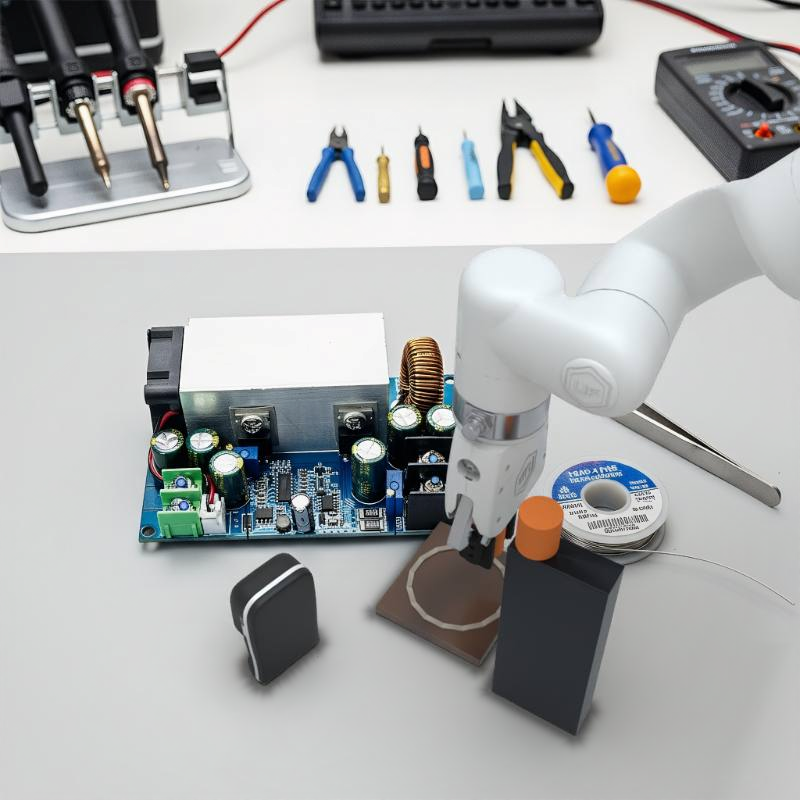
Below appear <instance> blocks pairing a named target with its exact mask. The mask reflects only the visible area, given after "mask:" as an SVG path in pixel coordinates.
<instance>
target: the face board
mask: <svg viewBox="0 0 800 800" xmlns="http://www.w3.org/2000/svg"><path fill="white" fill-rule="evenodd" d="M451 527H452V525H450V524H447V523H446V522H443V521H439V523H438V524H437V525H436V526H435V528H434V529H433V531H432V532H431V533H430V534H429V535H428V536H427V538H426V539H425V541H424V542H423V543H422V545H421V546H420V547H419V548H418V550H417V551H416V553H415V554H414V555H413V557H412V558H411V559H410V560H409V562H408V563H407V564H406V565H405V567H404V569H402V571H401V572H400V574H399V575H398V576H397V578H396V579H395V580H394V581H393V583H392V584H391V585H390V587H388V589H387V590H386V592H385V593H384V594H383V596H382V597H381V598H380V600H379V601H378V602H377V604H376V605H375V613H376V614H377V615H379V616H381V617H384V618H385V619H387V620H388V621H391V622H392V623H395V624H397V625H398V626H401V627H402V628H405V629H406V630H408V631H410V632H412V633H414V634H416V635H417V636H420V637H421V638H423V639H425V640H426V641H429V642H431V643H433V644H435V645H437V646H438V647H440V648H442V649H444V650H446V651H448V652H450V653H452V654H453V655H456V656H458V657H459V658H461V659H463V660H465V661H467V662H469V663H471V664H472V665H474V666H476V667H478V668H479V667H481V665H482V663H483V662H484V661H485V659H486V657H487V656H488V654H489V652H490V651H491V649H492V648H493V647H494V645H495V644H496V643H497V637H498V628H499V618H500V609H501V600H502V591H503V582H504V573H505V563H506V554H507V551H506V550H503V551H502V553H501V554H500V555H499V556H497V557H496V558H494V561H493V566H492V567H491V569H489V570H488V569H485V568H483V567H481V566H479V565H474V564H472V563H470V562H468V561H467V560H465V558H463V557H461V556H460V555H459V551H458V550H456V549H454V548H452V547H450V546H448V545H447V540H448V537H449V534H450V531H451Z"/></svg>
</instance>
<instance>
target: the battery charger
mask: <svg viewBox="0 0 800 800" xmlns="http://www.w3.org/2000/svg"><path fill="white" fill-rule="evenodd" d="M317 604H318V603H317V593H316V586H315V579H314V576H313V573H312V572H311V570H310V568H309V567H308V566H306V565H305V564H303V563H301V562H300V561H299V560H298V559H296V558H295V557H294V556H293V555H292V554H290V553H289V552H288V553H287V552H281V553H277V554H276V555H274V556H272V557H271V558H269V559H268V560H267V561H264V562H263V563H262V564H261V565H259V566H258V567H256V568H255V569H254V570H252V571H251V572H250V573H248V574H246V576H244V577H243V578H242V579H240V580H239V581H238V582H237V583H235V585H234V586H233V587H232V589H231V592H230V596H229V605H230V611H231V612H230V613H231V617H232V621H233V624H234V627H235V629H236V630H237V632H239V633H240V634H241V635H242V636H243V638H244V643H245V647H246V650H247V653H248V658H247V666H248V668H249V670H250V672H251V673H252V675H253V676H254V677H255V679H256V680H257V681H258V682H260V683H262V684H263V685H267V684H268V683H270V682H271V681H272V680H274V679H275V678H276V677H277V676H279V675H280V674H281V673H283V672H284V671H285V670H286V669H288V668H289V667H290V666H292V664H294V663H295V662H296V661H297V660H299V659H300V658H301V657H303V656H304V655H305V654H306V653H307V652H309V651H310V650H312V648H313V647H315V646H316V645H317V644H318V643H319V642H320V635H319V634H320V633H319V625H318V607H317V606H318V605H317Z"/></svg>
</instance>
